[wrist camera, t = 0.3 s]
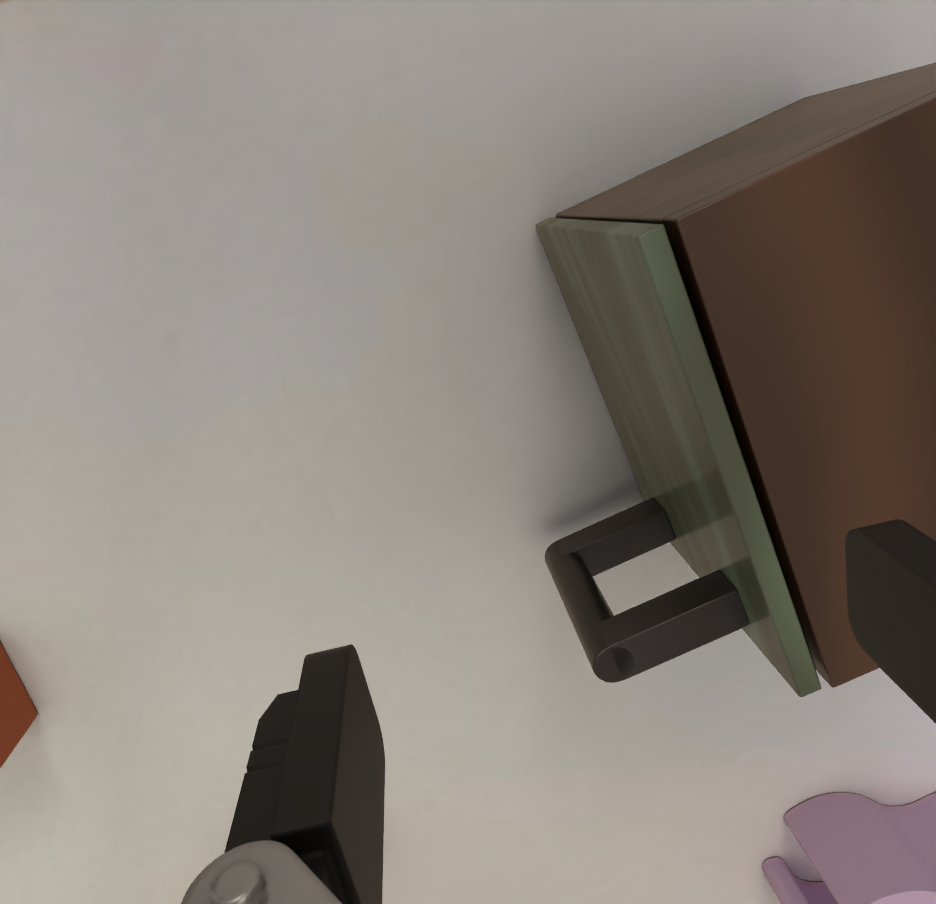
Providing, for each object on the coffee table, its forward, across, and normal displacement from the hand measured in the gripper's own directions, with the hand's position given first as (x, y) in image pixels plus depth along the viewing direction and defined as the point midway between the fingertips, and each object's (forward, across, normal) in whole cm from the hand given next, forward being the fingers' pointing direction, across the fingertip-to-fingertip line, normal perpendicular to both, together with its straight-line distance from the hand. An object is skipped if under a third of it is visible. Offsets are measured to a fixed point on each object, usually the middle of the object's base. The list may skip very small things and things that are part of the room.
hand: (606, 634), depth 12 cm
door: (+24, -3, +4) cm, 25 cm away
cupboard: (+24, -12, +2) cm, 28 cm away
